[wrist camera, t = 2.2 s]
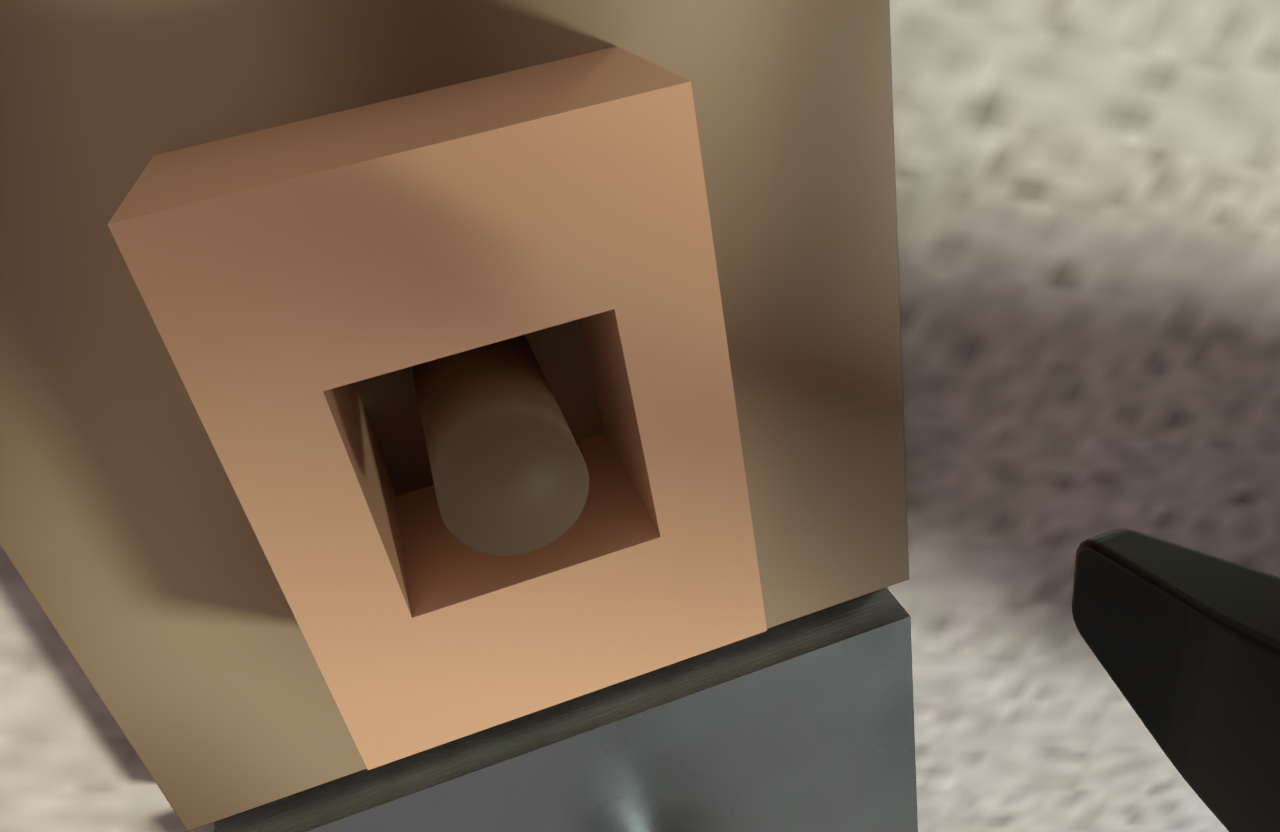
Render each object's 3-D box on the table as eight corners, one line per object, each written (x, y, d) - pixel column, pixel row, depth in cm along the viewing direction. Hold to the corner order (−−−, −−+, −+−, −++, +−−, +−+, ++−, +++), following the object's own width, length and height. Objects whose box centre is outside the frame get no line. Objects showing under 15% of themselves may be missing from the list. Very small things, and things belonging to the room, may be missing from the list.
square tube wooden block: (617, 45, 13) (690, 80, 10) (699, 521, 17) (766, 630, 14) (154, 155, 12) (108, 224, 9) (360, 631, 16) (368, 770, 13)
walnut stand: (842, -267, 13) (1065, -341, 9) (883, 550, 20) (1017, 703, 16) (-328, -47, 10) (-701, -20, 7) (193, 786, 18) (159, 1030, 14)
